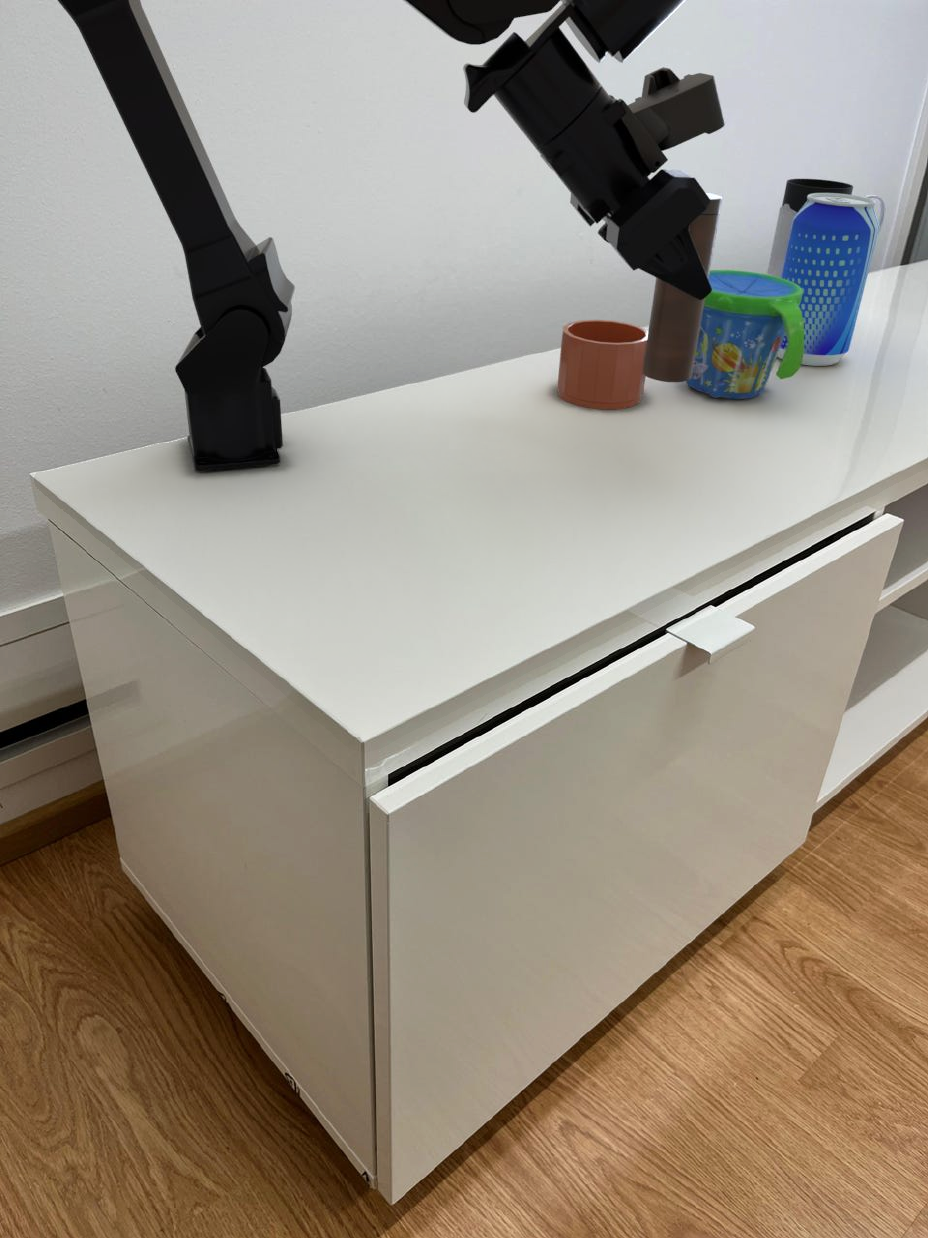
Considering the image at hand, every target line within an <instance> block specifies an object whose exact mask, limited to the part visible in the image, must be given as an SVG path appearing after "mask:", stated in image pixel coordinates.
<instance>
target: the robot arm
mask: <svg viewBox="0 0 928 1238" xmlns="http://www.w3.org/2000/svg"><path fill="white" fill-rule="evenodd" d="M402 1H403V2H404V3H406V4H407V5H408V6H409V7H410V8H412V9H413V10H414V11H416V12H417V13H418V14H419V15H420V16H422V17H423V18H424V19H425V20H427V21H428V22H429V23H430V24H432V25H433V26H434V27H436V29H438V30H439V31H441V32H442V33H443V34H445V35H446V36H448V37H449V38H450V39H453V40H455V41H457V42H460V43H463V44H466V45H471V46H472V45H473V46H479V45H485V44H487V43H489V42H491V41H494V40H496V39H498V38H499V37H500V36H502V35H503V33H505V32H506V31H507V30H508V29H509V27H510V26H511V24H512V23H513V21H514V19H518V18H523V17H530V16H534V15H539V14H540V15H541V14H547V13H549V12H551V11H552V10H553V9H554V8H555V7H556V6H557V5H558V4H559V3H560V2H561V4H560V5H559V7H557V9H556V10H555V11H554V12H552V14H551V15H549V17H548V18H547V19H546V20H545V21H544V22H543V23H542V24H541V25H540V26H539V27H538V28H537V29H536V30H535V31H534V32H533V33H532V34H531V35H530V36H528V38H526V39H523V38H522V37H521V36H520V35H519V34H518V33H517V32H515V31H513V32H512V33H511V34H510V35H509V36H508V37H507V38H506V40H505V41H503V43H501V45H500V46H499V47H497V49H496V50H494V52H493V53H491V55H490V56H489V57H488V58H487V59H486V60H485V61H484V63H482V64H472V63H465V64H464V65H463V67H462V70H463V74H464V78H465V91H464V92H465V93H464V98H463V105H464V107H465V108H466V109H467V110H468V112H469V113H472V114H476V113H477V112H478V111H480V110H481V108H482V107H483V106H484V105H485V104H487V102H488V101H489V100H491V98H492V97H494V98H495V99H496V100H497V102H498V103H499V105H501V107H502V108H503V109H504V110H505V111H506V114H508V115H509V117H510V119H512V120H513V122H514V123H515V124H516V126H517V127H518V128H519V130H520V131H521V132H522V134H524V135H525V137H526V138H527V139H528V141H529V142H530V143H531V144H532V146H533V147H534V148H535V150H536V151H537V152H538V153H539V154H540V155H539V156H540V157H541V159H542V160H543V161H544V163H545V164H546V165H547V167H548V168H549V169H550V170H551V171H552V172H554V173H555V175H556V176H557V177H558V178H559V180H560V181H561V182H562V184H563V185H564V186H565V187H566V189H567V190H568V191H569V193H570V201H569V204H571V206H572V207H573V208H574V209H575V211H576V212H577V214H579V216H580V217H581V218H582V220H583V221H584V222H585V223H586V224H587V225H588V226H589V227H590V228H591V227H592V226H593V225H594V224H595V223H596V225H598V224H599V223H600V222H601V221H603V222H604V224H603V225H602V226H601V227H600V228H599V229H598V231H597V235H599V237H601V239H603V240H604V242H606V243H608V244H610V246H611V247H612V248H613V249H614V251H615V252H616V254H617V255H618V256H619V257H620V258H621V260H623V262H625V264H626V265H627V266H628V267H629V268H630V269H631V270H632V271H636V270H638V269H639V270H641V271H643V272H645V273H646V274H648V275H650V276H652V277H654V278H655V279H656V278H658V279H660V280H662V281H664V282H666V283H668V284H670V285H672V286H674V287H676V288H678V289H679V290H681V291H683V292H685V293H687V294H689V295H691V296H693V297H695V298H697V299H698V300H703V299H704V298H705V297H707V296H708V295H709V294H710V293H711V292H712V287H711V285H710V282H709V280H708V277H707V275H706V272H705V270H704V267H703V265H702V263H701V260H700V258H699V255H698V253H697V250H696V248H695V245H694V242H693V240H692V237H691V234H690V231H689V226H690V223H691V222H692V221H694V220H695V219H696V218H697V217H698V216H699V215H700V214H701V213H702V212H704V211H705V210H706V209H707V207H708V205H709V204H710V202H711V200H710V199H709V197H708V196H707V194H706V193H707V192H705V190H704V188H703V187H702V186H701V185H700V183H699V181H698V180H697V179H696V178H695V177H694V176H692V175H690V174H689V173H687V172H685V171H683V170H680V169H661V168H662V167H663V165H665V164H666V163H667V162H668V161H669V159H668V157H667V156H666V154H665V153H664V151H666V150H670V149H672V148H675V147H676V146H680V145H682V144H683V143H685V142H688V141H691V140H692V139H695V138H696V137H699V136H701V135H703V134H707V135H710V134H713V133H715V132H718V131H719V130H721V129H722V128H724V127H725V125H726V121H725V117H724V113H723V108H722V104H721V100H720V96H719V91H718V88H717V84H716V79H715V76H714V75H712V74H708V73H707V74H706V73H703V72H698V73H693V74H689V73H688V74H686V75H684V76H683V78H681V79H680V78H679V77H678V76H677V75H676V73H674V71H673V70H672V69H671V68H668V67H660V68H658V69H656V70H654V71H651V72H649V73H647V74H646V75H644V78H643V85H642V92H641V96H638V97H637V98H634V101H633V102H631V103H630V104H627V102H626V101H625V100H624V99H622V98H619V99H617V98H615V97H614V96H613V95H611V94H609V93H608V92H607V91H606V89H605V88H604V86H603V85H602V84H601V82H600V81H599V80H598V78H597V77H596V76H595V74H594V73H593V72H592V70H591V69H590V67H589V66H588V64H586V62H585V61H584V59H583V58H582V57H581V55H580V54H579V53H578V51H577V50H576V48H575V47H574V45H572V42H570V40H569V39H568V37H567V36H566V35H565V33H564V32H563V31H562V29H561V26H562V25H563V24H564V23H566V25H567V26H568V28H569V29H570V30H571V32H572V34H573V35H574V36H575V37H576V39H577V41H578V42H579V43H580V45H581V46H582V47H583V48H584V49H585V50H586V52H587V53H588V54H589V55H590V56H591V58H593V59H594V61H596V62H597V63H599V64H600V63H601V62H602V61H603V60H604V59H605V58H606V57H607V54H608V55H610V57H611V58H614V59H615V60H617V62H619V63H621V64H623V63H624V62H625V61H626V60H627V59H628V58H629V57H630V56H631V55H632V54H633V53H634V52H635V51H636V50H637V49H638V48H639V47H640V46H642V44H643V43H644V42H645V41H646V40H647V39H648V38H649V37H650V36H651V35H652V34H653V33H654V32H656V30H657V29H658V28H659V27H660V26H661V25H663V23H665V21H666V20H668V18H669V17H670V16H671V15H672V14H673V13H674V12H676V10H678V8H679V7H681V5H682V4H683V3H684V2H685V1H686V0H402ZM57 2H58V3H59V5H61V7H62V8H63V10H65V12H66V14H68V15H69V17H70V18H71V19H72V21H73V23H74V24H75V25H76V27H77V29H78V31H79V32H80V34H81V36H82V38H83V40H84V43H85V45H86V47H87V49H88V51H89V53H90V55H91V58H92V60H93V61H94V63H95V66H96V69H97V70H98V72H99V74H100V76H101V78H102V81H103V82H104V83H103V84H104V85H105V87H106V89H107V91H108V93H109V95H110V98H111V100H112V102H113V104H114V106H115V108H116V110H117V112H118V114H119V116H120V119H121V120H122V122H123V125H124V127H125V129H126V131H127V133H128V135H129V137H130V139H131V141H132V144H133V145H134V149H135V150H136V152H137V154H138V156H139V159H140V161H141V162H142V165H143V166H144V169H145V171H146V173H147V175H148V177H149V180H150V181H151V183H152V185H153V187H154V191H155V192H156V195H157V196H158V198H159V200H160V203H161V204H162V206H163V209H164V211H165V213H166V215H167V218H168V220H169V221H170V224H171V226H172V228H173V229H174V231H175V234H176V236H177V238H178V240H179V242H180V244H181V248H182V251H183V254H184V260H185V264H186V265H185V266H186V270H187V275H188V281H189V287H190V292H191V297H192V301H193V305H194V308H195V312H196V316H197V319H198V322H199V325H200V326H199V328H198V329H197V330H196V331H195V332H194V333H193V335H192V337H191V339H190V340H189V342H188V344H187V346H186V347H185V348H184V351H183V352H182V355H181V356H180V358H179V359H178V362H177V363H176V365H175V367H174V370H175V373H176V375H177V378H178V379H179V381H180V383H181V385H182V388H183V389H184V390H183V391H184V399H185V407H186V416H187V424H188V425H187V426H188V433H189V434H188V435H187V436H186V439H187V445H188V450H189V453H190V457H191V461H192V465H193V466H192V467H193V469H194V471H196V472H207V471H219V470H228V469H229V470H230V469H241V468H252V467H253V468H254V467H265V466H274V465H275V466H276V465H279V464H281V462H282V461H281V455H280V453H279V451H278V450H280V449H282V447H284V444H283V443H284V442H283V426H282V409H281V408H282V407H281V398H280V397H279V394H278V392H277V390H276V389H275V388H274V387H273V385H272V378H271V376H270V374H269V372H268V370H267V369H266V366H268V365H270V364H271V363H273V362H274V361H275V360H276V358H277V357H278V356H279V355H280V354H281V353H282V350H283V348H284V345H285V342H286V338H287V335H288V331H289V329H290V325H291V322H292V315H293V305H292V299H293V296H294V293H295V290H296V286H295V285H294V283H293V282H292V281H291V280H290V279H289V278H288V277H287V275H286V274H285V272H284V270H283V269H282V266H281V262H280V259H279V254H278V251H277V247H276V244H275V240H274V238H273V237H271V236H269V237H268V238H267V237H266V238H265V239H264V240H263V241H261V242H260V243H258V244H256V243H255V242H254V241H253V239H251V237H250V236H249V234H247V233H246V231H245V229H244V228H243V227H242V226H241V224H240V223H239V221H238V220H237V219H236V217H235V213H234V212H233V210H232V207H231V206H230V203H229V201H228V199H227V197H226V193H225V192H224V190H223V187H222V185H221V182H220V180H219V178H218V176H217V174H216V171H215V169H214V167H213V164H212V162H211V160H210V157H209V156H208V153H207V151H206V148H205V146H204V144H203V142H202V139H201V136H200V135H199V133H198V130H197V128H196V126H195V123H194V122H193V119H192V117H191V115H190V112H189V110H188V108H187V105H186V103H185V101H184V98H183V96H182V94H181V91H180V90H179V87H178V85H177V83H176V81H175V78H174V76H173V74H172V71H171V69H170V66H169V65H168V62H167V60H166V57H165V56H164V53H163V51H162V49H161V47H160V44H159V41H158V40H157V38H156V35H155V33H154V31H153V28H152V26H151V24H150V22H149V20H148V17H147V15H146V12H145V10H144V8H143V5H142V2H141V0H57ZM659 169H660V170H659ZM658 170H659V171H658ZM651 174H654V175H653V176H652V177H651V178H650V177H649V176H651Z"/></svg>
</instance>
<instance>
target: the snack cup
mask: <svg viewBox="0 0 928 1238" xmlns="http://www.w3.org/2000/svg"><path fill="white" fill-rule="evenodd" d="M708 280H709V282H710V285H711V287H712V292H711V293H710V294H709V295H708V296H707V297H705V303H704V309H703V314H702V320H701V326H700V332H699V338H698V344H697V350H696V356H695V361H694V367H693V373H692V378H691V379H690V380H688V381H685V382H686V384H687V386H688V387H691V388H692V389H694V390H695V391H698V392H700V393H706V394H708V396H709V395H710V396H711V397H713V398H715V399H717V398H724V399H729V400H745V399H746V400H750V399H752V398H755V397H756V396H759V395H760V393H762V392H763V391H764V389H765V388H766V385H767V383H768V381H769V378H770V375H771V372H772V371H773V368H774V365H775V363H776V360H777V358H778V357H777V355H778V352H779V350H780V346H781V343H782V340H783V338H784V336H785V333H786V337H787V341H788V345H787V348H786V350H785V353H784V356H783V358H782V359H781V360H780V364H779V365H778V369H777V371H776V373H775V375H776V377H777V378H778V379H780V380H785V379H789V378H792V377H793V376H795V374H796V373H798V372H799V370H800V368H801V366H802V359H803V352H804V322H803V318H802V313H801V310H800V308H799V304H800V302H801V298H802V294H803V290H802V289H801V287H800V286H798V285H797V284H795V283H793V282H791V281H788V280H786V279H783V278H779V277H775V276H771V275H767V273H760V272H755V271H745V270H735V269H710V273H709V279H708Z"/></svg>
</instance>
